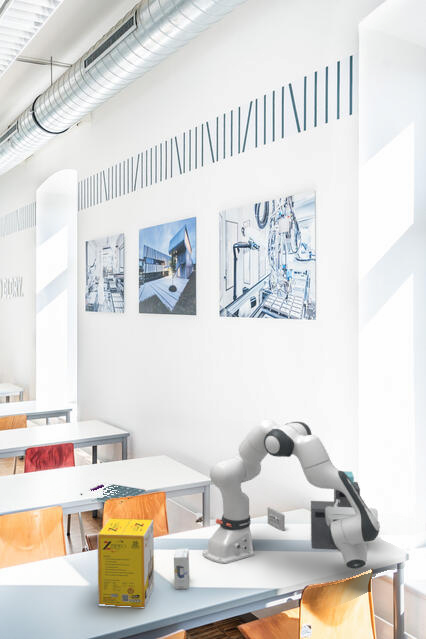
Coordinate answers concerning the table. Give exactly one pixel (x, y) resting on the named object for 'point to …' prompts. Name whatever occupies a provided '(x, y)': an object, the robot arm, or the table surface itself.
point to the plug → (350, 476)
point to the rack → (319, 521)
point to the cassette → (279, 520)
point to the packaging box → (125, 562)
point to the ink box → (181, 569)
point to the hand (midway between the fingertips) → (349, 500)
